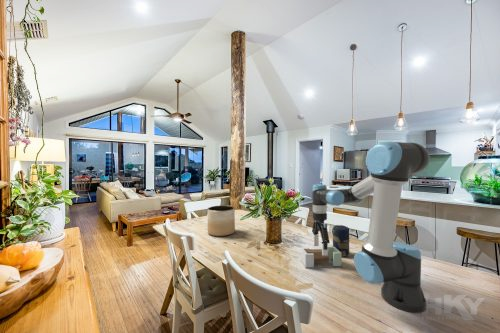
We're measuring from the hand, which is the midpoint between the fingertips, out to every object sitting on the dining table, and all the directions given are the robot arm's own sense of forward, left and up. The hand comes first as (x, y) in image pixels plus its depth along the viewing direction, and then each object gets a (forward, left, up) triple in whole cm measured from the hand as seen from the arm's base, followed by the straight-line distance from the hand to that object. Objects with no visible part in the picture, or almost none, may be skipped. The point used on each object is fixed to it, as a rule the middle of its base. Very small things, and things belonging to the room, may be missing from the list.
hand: (320, 250), depth 121 cm
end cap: (+1, -8, -7) cm, 11 cm away
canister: (+13, -18, -8) cm, 23 cm away
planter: (+58, +60, -8) cm, 84 cm away
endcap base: (+1, -1, -8) cm, 8 cm away
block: (+1, +2, -7) cm, 8 cm away
